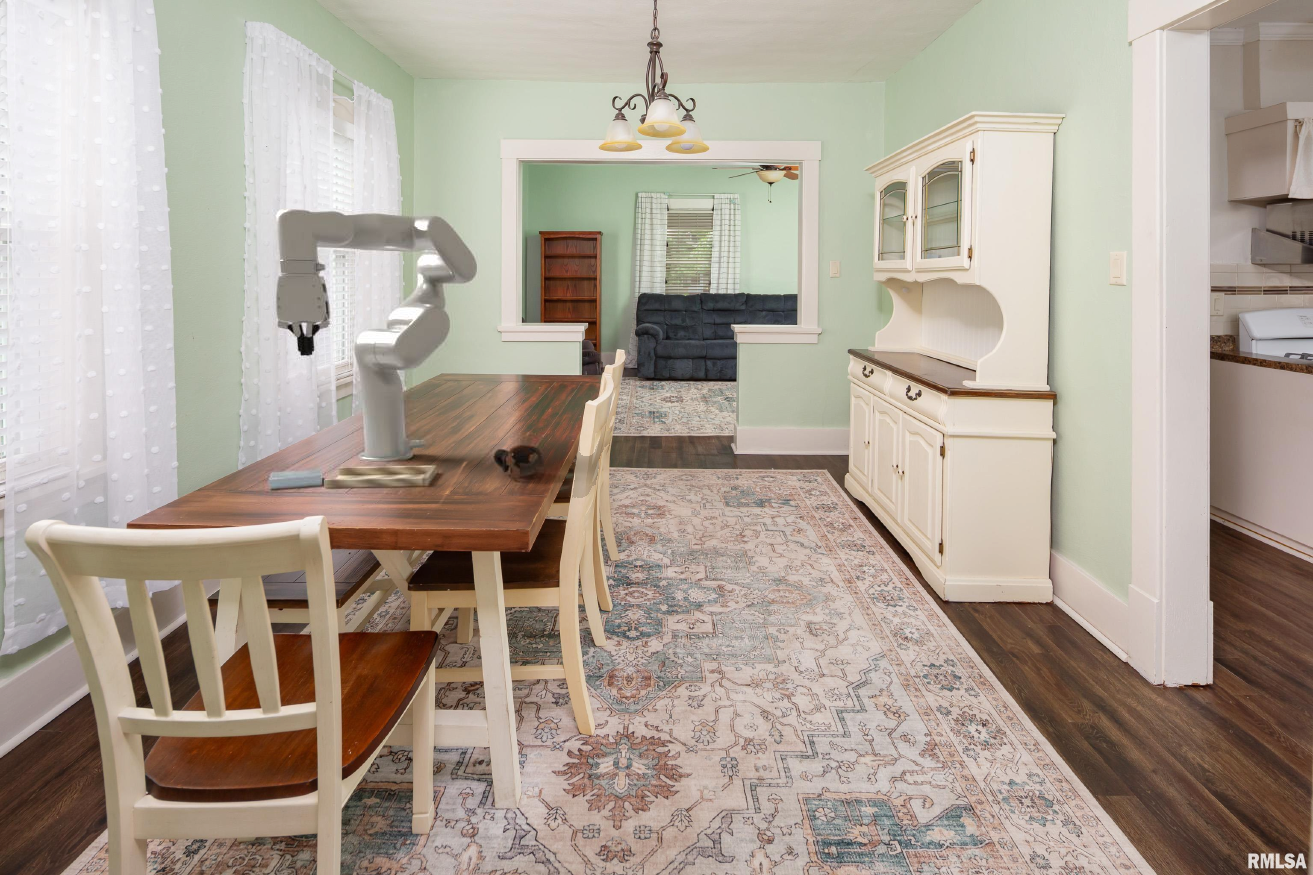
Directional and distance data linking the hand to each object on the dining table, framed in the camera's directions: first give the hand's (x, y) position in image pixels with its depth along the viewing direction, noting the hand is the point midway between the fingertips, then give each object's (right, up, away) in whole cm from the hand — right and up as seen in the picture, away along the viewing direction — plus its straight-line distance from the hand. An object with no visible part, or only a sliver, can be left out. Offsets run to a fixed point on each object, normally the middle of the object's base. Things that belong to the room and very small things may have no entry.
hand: (306, 355), depth 178 cm
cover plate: (0, -29, -4) cm, 29 cm away
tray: (+17, -28, -1) cm, 33 cm away
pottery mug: (+46, -27, +5) cm, 53 cm away
